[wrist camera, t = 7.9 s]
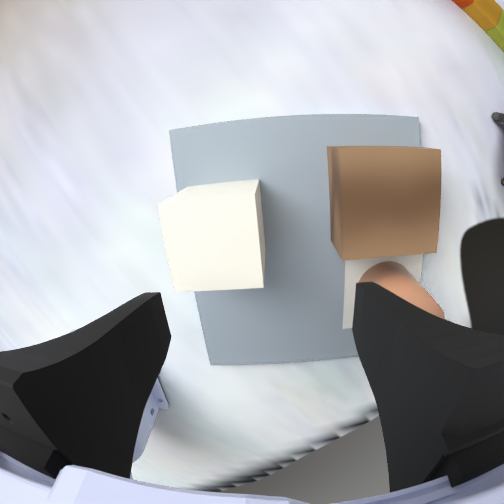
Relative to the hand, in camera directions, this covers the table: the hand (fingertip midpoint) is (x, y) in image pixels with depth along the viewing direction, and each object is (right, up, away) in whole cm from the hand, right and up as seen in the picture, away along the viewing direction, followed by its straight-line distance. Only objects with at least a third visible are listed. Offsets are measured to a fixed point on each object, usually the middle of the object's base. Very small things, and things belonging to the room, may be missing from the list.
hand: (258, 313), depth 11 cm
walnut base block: (+8, +6, +8) cm, 12 cm away
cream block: (-2, +4, +8) cm, 10 cm away
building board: (+4, +2, +10) cm, 10 cm away
